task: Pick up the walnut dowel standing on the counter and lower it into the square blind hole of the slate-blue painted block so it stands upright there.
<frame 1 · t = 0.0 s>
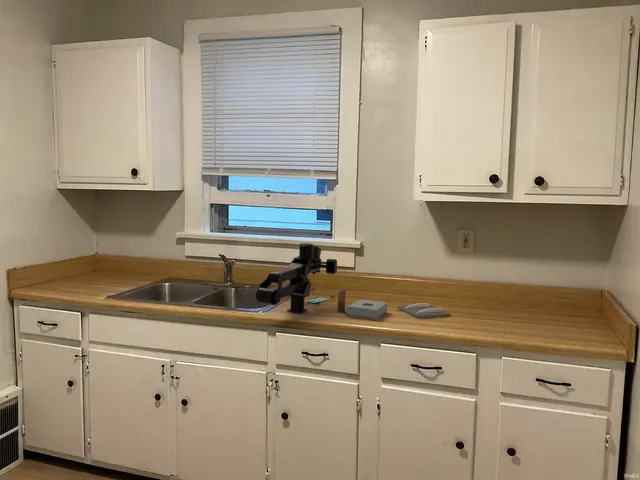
hand: (324, 262, 247), 17 cm above the worktop, tool horizontal, fingers open, 9 cm apart
dowel: (341, 311, 227), on the worktop
hole block: (367, 314, 223), on the worktop
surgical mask: (319, 302, 245), on the worktop
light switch: (423, 314, 229), on the worktop
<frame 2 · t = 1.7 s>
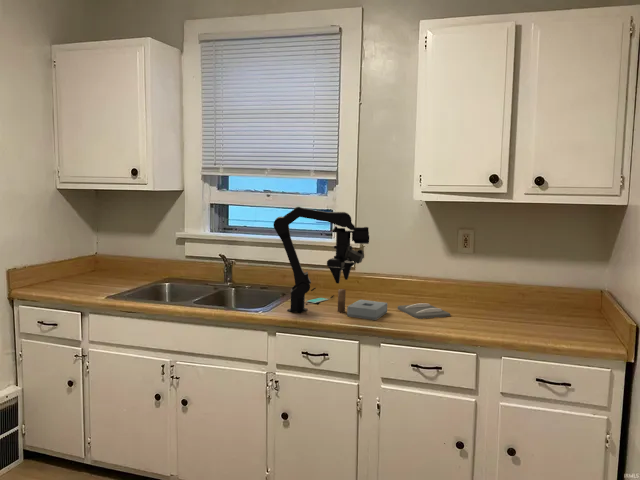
hand: (342, 281, 226), 12 cm above the worktop, tool pointing down, fingers open, 9 cm apart
nothing on the worktop moved.
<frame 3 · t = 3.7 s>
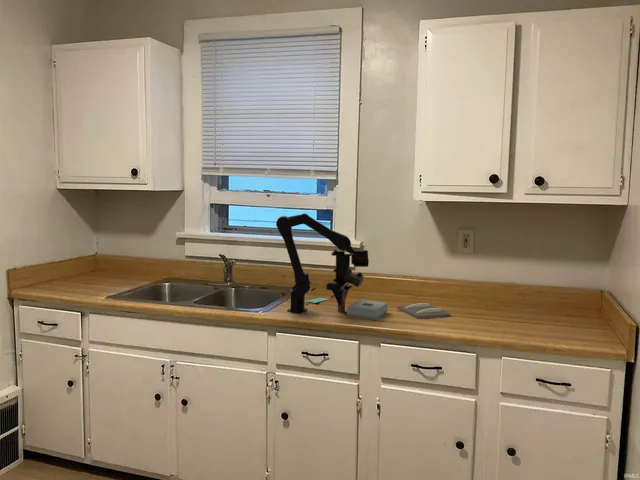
hand: (341, 304, 227), 3 cm above the worktop, tool pointing down, fingers closed on dowel, 3 cm apart
dowel: (341, 311, 227), on the worktop, touching gripper
everything else where it was.
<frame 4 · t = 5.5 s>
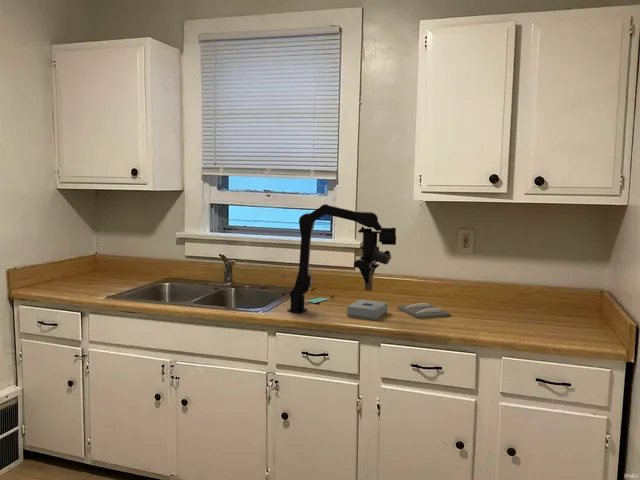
hand: (368, 282, 222), 13 cm above the worktop, tool pointing down, fingers closed on dowel, 3 cm apart
dowel: (368, 290, 222), point 10 cm above the worktop, touching gripper
everything else where it was.
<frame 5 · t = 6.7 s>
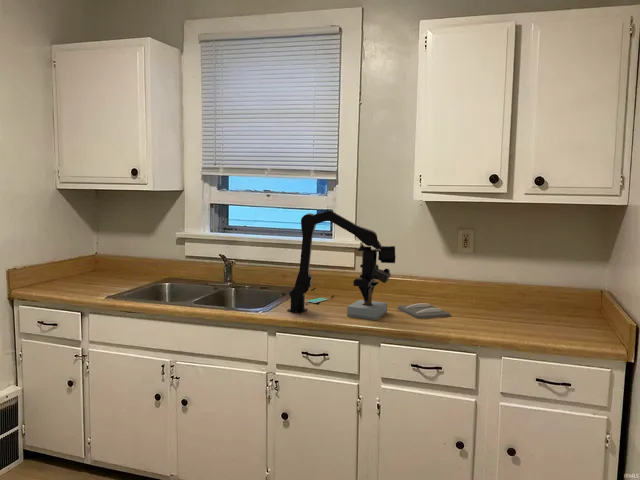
hand: (367, 300, 223), 6 cm above the worktop, tool pointing down, fingers closed on dowel, 3 cm apart
dowel: (367, 308, 223), point 3 cm above the worktop, touching gripper
everything else where it was.
when the fingers open (5 cm above the worktop, at t = 7.5 s): dowel stays where it is, resting on hole block.
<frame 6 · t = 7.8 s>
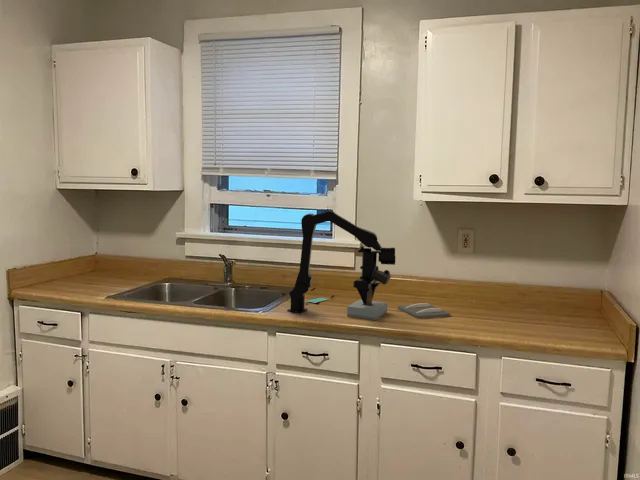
hand: (367, 302, 223), 5 cm above the worktop, tool pointing down, fingers open, 6 cm apart
dowel: (367, 311, 223), point 1 cm above the worktop, touching hole block
everything else where it was.
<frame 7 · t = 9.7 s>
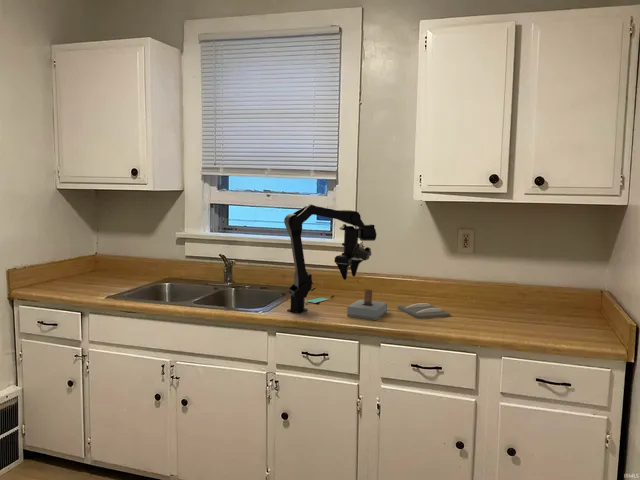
hand: (349, 277, 232), 13 cm above the worktop, tool pointing down, fingers open, 9 cm apart
nothing on the worktop moved.
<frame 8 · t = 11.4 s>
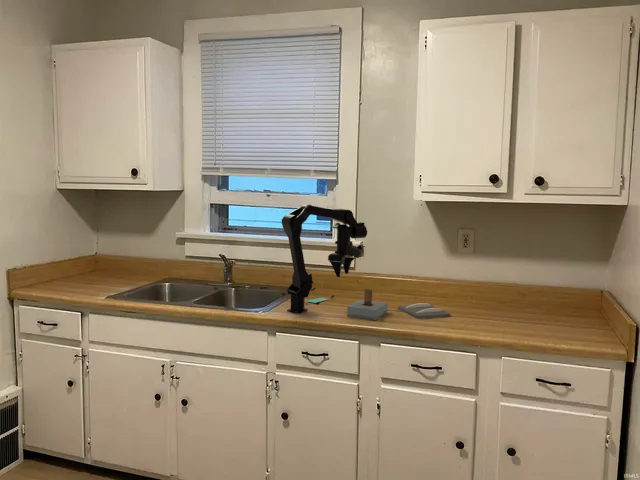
hand: (342, 275, 236), 13 cm above the worktop, tool pointing down, fingers open, 9 cm apart
nothing on the worktop moved.
at the end: dowel 0.0 cm off-centre on the hole block, point 1.0 cm above the hole block's base; dowel tilted 0°; the gripper is holding nothing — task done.
